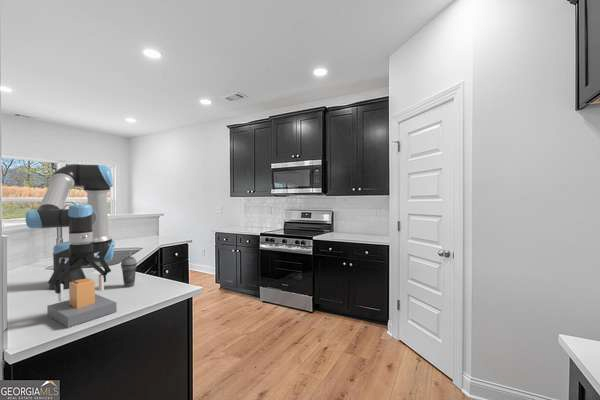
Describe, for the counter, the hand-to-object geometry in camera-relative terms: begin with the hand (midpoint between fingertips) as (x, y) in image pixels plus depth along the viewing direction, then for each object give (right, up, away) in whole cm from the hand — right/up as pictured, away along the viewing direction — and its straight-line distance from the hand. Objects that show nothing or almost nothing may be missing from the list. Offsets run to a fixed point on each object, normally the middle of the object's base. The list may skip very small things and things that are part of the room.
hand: (82, 295), depth 111 cm
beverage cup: (-2, -7, +34) cm, 35 cm away
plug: (0, -6, 0) cm, 6 cm away
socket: (0, -7, 0) cm, 7 cm away
